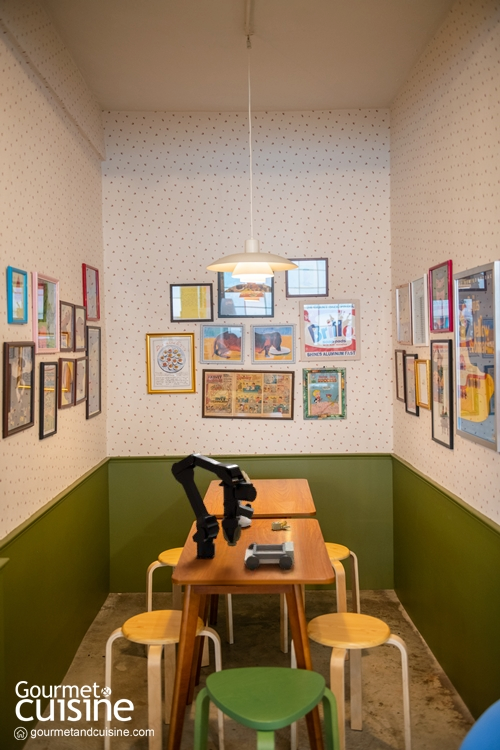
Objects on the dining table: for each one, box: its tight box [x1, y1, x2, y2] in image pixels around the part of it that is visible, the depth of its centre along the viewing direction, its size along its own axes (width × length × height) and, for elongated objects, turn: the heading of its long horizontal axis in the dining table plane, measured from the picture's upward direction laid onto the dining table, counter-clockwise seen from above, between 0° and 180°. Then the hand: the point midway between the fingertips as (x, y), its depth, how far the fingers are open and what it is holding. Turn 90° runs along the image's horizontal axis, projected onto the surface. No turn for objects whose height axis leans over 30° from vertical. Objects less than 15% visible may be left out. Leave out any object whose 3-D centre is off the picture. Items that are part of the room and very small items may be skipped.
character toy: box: [271, 520, 291, 531], centre depth 296 cm, size 8×3×8 cm
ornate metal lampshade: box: [221, 524, 242, 548], centre depth 248 cm, size 8×7×8 cm
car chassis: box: [244, 541, 295, 571], centre depth 248 cm, size 18×18×6 cm
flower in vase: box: [239, 470, 252, 528], centre depth 302 cm, size 13×11×25 cm
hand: (232, 540), depth 248 cm, fingers closed on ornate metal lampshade, 6 cm apart
